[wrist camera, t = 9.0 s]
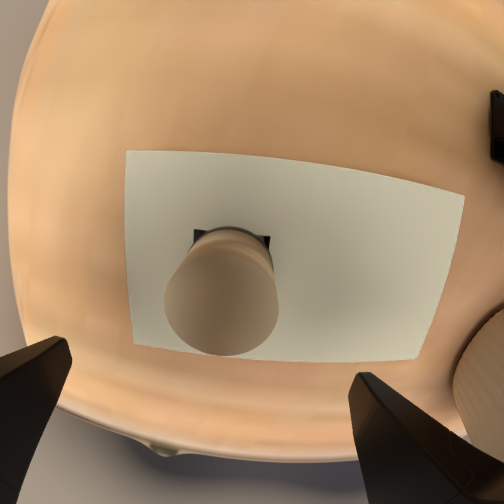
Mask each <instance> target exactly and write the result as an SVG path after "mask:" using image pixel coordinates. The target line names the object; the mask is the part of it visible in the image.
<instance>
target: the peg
mask: <svg viewBox="0 0 504 504" xmlns="http://www.w3.org/2000/svg"><path fill="white" fill-rule="evenodd" d="M164 310H165V314H166V317H167V320H168V322H169V324H170V326H171V328H172V329H173V331H174V332H175V333H176V334H177V336H178V337H179V338H180V339H181V340H183V341H184V342H185V343H186V344H188V345H189V346H191V347H192V348H194V349H196V350H198V351H201V352H204V353H207V354H211V355H217V356H233V355H239V354H243V353H246V352H248V351H251V350H253V349H254V348H256V347H258V346H259V345H261V344H262V343H263V342H264V341H265V340H266V339H267V338H268V337H269V336H270V334H271V333H272V331H273V330H274V328H275V325H276V323H277V319H278V314H279V303H278V297H277V291H276V285H275V279H274V268H273V262H272V257H271V255H270V252H269V250H268V248H267V247H266V245H265V244H264V242H263V241H262V240H261V239H260V238H259V237H257V236H256V235H255V234H253V233H251V232H250V231H248V230H245V229H242V228H239V227H233V226H224V227H218V228H214V229H212V230H209V231H207V232H205V233H204V234H202V235H201V236H200V237H199V238H198V239H197V240H196V241H195V242H194V243H193V245H192V246H191V248H190V249H189V251H188V253H187V255H186V256H185V258H184V259H183V261H182V262H181V264H180V265H179V267H178V268H177V270H176V271H175V273H174V274H173V276H172V277H171V279H170V281H169V282H168V284H167V287H166V290H165V295H164Z"/></svg>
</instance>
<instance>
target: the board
mask: <svg viewBox="0 0 504 504" xmlns="http://www.w3.org/2000/svg"><path fill="white" fill-rule="evenodd" d="M464 200H465V196H463V195H460V194H457V193H453V192H450V191H446V190H443V189H439V188H435V187H431V186H427V185H424V184H420V183H415V182H411V181H407V180H403V179H398V178H394V177H389V176H385V175H380V174H375V173H370V172H365V171H360V170H354V169H349V168H343V167H337V166H331V165H325V164H318V163H312V162H305V161H297V160H289V159H281V158H272V157H263V156H253V155H242V154H229V153H214V152H195V151H160V150H130V151H126V167H125V195H124V230H125V259H126V275H127V289H128V300H129V310H130V318H131V327H132V334H133V341H134V344H138V345H143V346H149V347H155V348H161V349H167V350H173V351H180V352H187V353H195V354H202V355H211V354H207V353H204V352H201V351H198V350H196V349H194V348H192V347H191V346H189V345H188V344H186V343H185V342H184V341H183V340H181V339H180V338H179V337H178V336H177V334H176V333H175V332H174V331H173V329H172V328H171V326H170V324H169V322H168V320H167V317H166V314H165V310H164V295H165V290H166V287H167V284H168V282H169V281H170V279H171V277H172V276H173V274H174V273H175V271H176V270H177V268H178V267H179V265H180V264H181V262H182V261H183V259H184V258H185V256H186V255H187V253H188V251H189V249H190V248H191V246H192V245H193V243H194V242H195V241H196V240H197V239H198V238H199V237H200V236H201V235H202V234H204V233H205V232H207V231H209V230H212V229H214V228H218V227H224V226H233V227H239V228H242V229H245V230H248V231H250V232H251V233H253V234H255V235H256V236H257V237H259V238H260V239H261V240H262V241H263V242H264V244H265V245H266V247H267V248H268V250H269V252H270V255H271V257H272V262H273V268H274V279H275V285H276V291H277V297H278V303H279V314H278V319H277V323H276V325H275V328H274V330H273V331H272V333H271V334H270V336H269V337H268V338H267V339H266V340H265V341H264V342H263V343H262V344H261V345H259V346H258V347H256V348H254V349H253V350H251V351H248V352H246V353H243V354H239V355H233V356H220V357H230V358H241V359H253V360H268V361H287V362H375V361H394V360H408V359H417V357H418V354H419V352H420V350H421V347H422V345H423V343H424V340H425V338H426V336H427V333H428V331H429V328H430V325H431V323H432V320H433V318H434V315H435V312H436V309H437V307H438V304H439V301H440V298H441V295H442V292H443V289H444V285H445V282H446V279H447V275H448V272H449V268H450V265H451V261H452V257H453V253H454V249H455V245H456V241H457V237H458V232H459V227H460V222H461V217H462V212H463V206H464ZM211 356H217V355H211Z"/></svg>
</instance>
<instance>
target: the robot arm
mask: <svg viewBox="0 0 504 504" xmlns="http://www.w3.org/2000/svg"><path fill="white" fill-rule="evenodd" d="M491 96H492V147H491V157H492V160H493V161H495V162H497V163H499V164H501V165H503V166H504V94H502V93H501V92H499V91H498V90H493V91H492V92H491ZM71 365H72V356H71V353H70V350H69V346H68V342H67V340H66V339H65V338H62V337H59V336H53V337H50V338H48V339H45V340H43V341H40V342H38V343H35V344H33V345H30V346H27V347H25V348H22V349H20V350H18V351H15V352H12V353H10V354H7V355H5V356H2V357H0V504H16V502H17V499H18V496H19V493H20V490H21V486H22V484H23V481H24V478H25V476H26V473H27V470H28V468H29V465H30V462H31V460H32V458H33V455H34V452H35V450H36V448H37V445H38V443H39V441H40V438H41V436H42V434H43V431H44V429H45V427H46V425H47V423H48V421H49V419H50V416H51V414H52V412H53V410H54V408H55V406H56V404H57V402H58V399H59V397H60V394H61V391H62V389H63V386H64V383H65V381H66V378H67V376H68V373H69V371H70V368H71ZM348 400H349V407H350V414H351V421H352V429H353V437H354V442H355V446H356V450H357V454H358V458H359V462H360V467H361V471H362V475H363V480H364V484H365V488H366V493H367V498H368V502H369V504H504V462H502V461H500V460H498V459H496V458H494V457H492V456H491V455H489V454H487V453H485V452H483V451H481V450H480V449H478V448H476V447H475V446H473V445H471V444H469V443H468V442H467V441H465V440H463V439H462V438H460V437H459V436H458V435H456V434H455V433H453V432H452V431H449V429H448V428H446V427H445V426H443V425H442V424H441V423H439V422H438V421H436V420H435V419H434V418H432V417H431V416H429V415H428V414H427V413H425V412H424V411H422V410H421V409H420V408H418V407H417V406H416V405H414V404H413V403H412V402H410V401H409V400H407V399H406V398H405V397H403V396H402V395H401V394H399V393H398V392H397V391H395V390H394V389H393V388H391V387H390V386H388V385H387V384H386V383H384V382H383V381H382V380H380V379H379V378H378V377H376V376H375V375H374V374H372V373H371V372H359V373H357V374H356V376H355V378H354V380H353V383H352V385H351V388H350V390H349V394H348Z"/></svg>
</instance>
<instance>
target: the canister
mask: <svg viewBox="0 0 504 504" xmlns="http://www.w3.org/2000/svg"><path fill="white" fill-rule="evenodd" d="M453 397H454V400H455V404H456V407H457V409H458V412H459V414H460V417H461V419H462V421H463V424H464V426H465V429H466V431H467V434H468V436H469V439H470V441H471V444H472V445H473V446H475V447H476V448H478V449H480V450H481V451H483V452H485V453H487V454H489V455H491V456H492V457H494V458H496V459H498V460H500V461H502V462H504V309H502V310H501V311H500V312H498V313H496V314H495V315H494V316H493V317H492V318H490V319H489V321H488V322H487V323H485V324H484V325H483V327H482V328H481V329H480V330H479V331H478V333H477V334H476V335H475V336H474V337H473V339H472V341H471V342H470V343H469V344H468V346H467V349H466V350H465V351H464V352H463V355H462V357H461V359H460V360H459V364H458V366H457V367H456V372H455V374H454V380H453Z"/></svg>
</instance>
